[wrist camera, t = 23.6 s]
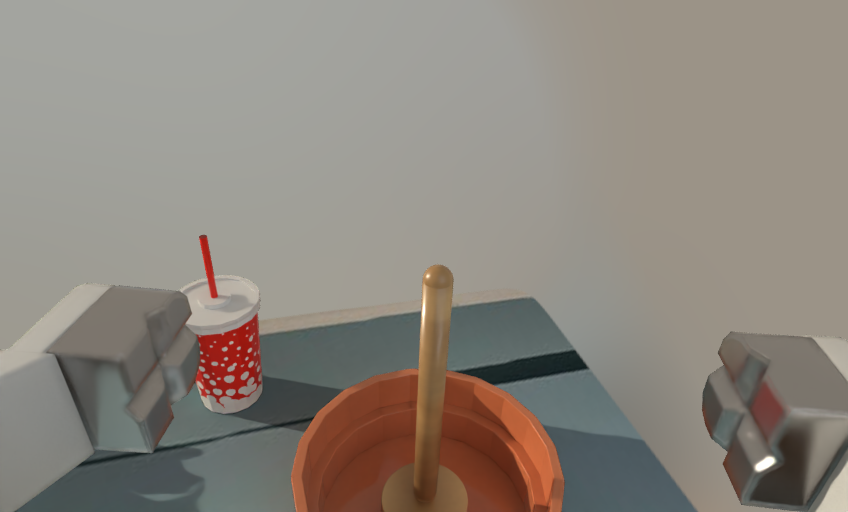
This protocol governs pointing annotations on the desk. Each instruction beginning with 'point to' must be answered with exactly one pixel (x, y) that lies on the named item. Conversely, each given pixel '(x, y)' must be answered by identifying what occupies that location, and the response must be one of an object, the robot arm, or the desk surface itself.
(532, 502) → the bowl
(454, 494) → the wooden post stand
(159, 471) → the desk surface
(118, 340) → the robot arm
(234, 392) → the beverage cup
